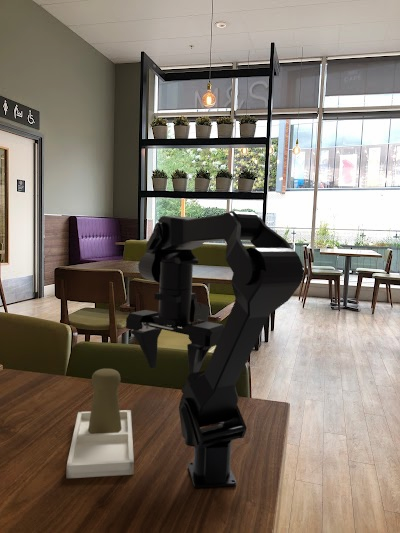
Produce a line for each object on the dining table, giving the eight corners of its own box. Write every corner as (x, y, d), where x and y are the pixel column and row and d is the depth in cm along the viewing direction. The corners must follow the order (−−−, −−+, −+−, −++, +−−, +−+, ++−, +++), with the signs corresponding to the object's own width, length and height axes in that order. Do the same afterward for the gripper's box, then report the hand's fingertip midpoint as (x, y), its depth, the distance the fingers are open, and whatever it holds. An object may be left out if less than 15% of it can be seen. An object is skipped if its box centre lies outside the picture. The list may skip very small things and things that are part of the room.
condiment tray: (133, 474, 69) (133, 462, 69) (66, 478, 67) (66, 465, 67) (130, 419, 88) (130, 410, 88) (78, 421, 86) (78, 411, 86)
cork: (119, 436, 79) (121, 376, 78) (85, 436, 79) (86, 375, 78) (123, 421, 85) (124, 365, 84) (91, 421, 85) (92, 364, 84)
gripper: (244, 289, 80) (239, 374, 82) (163, 278, 91) (161, 353, 92) (210, 296, 71) (205, 391, 72) (124, 283, 81) (122, 366, 83)
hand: (172, 373), depth 80 cm, fingers open, 9 cm apart
